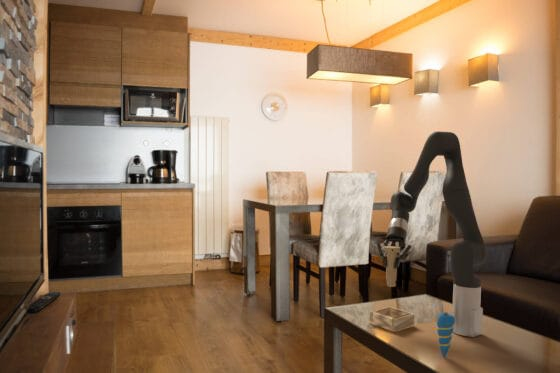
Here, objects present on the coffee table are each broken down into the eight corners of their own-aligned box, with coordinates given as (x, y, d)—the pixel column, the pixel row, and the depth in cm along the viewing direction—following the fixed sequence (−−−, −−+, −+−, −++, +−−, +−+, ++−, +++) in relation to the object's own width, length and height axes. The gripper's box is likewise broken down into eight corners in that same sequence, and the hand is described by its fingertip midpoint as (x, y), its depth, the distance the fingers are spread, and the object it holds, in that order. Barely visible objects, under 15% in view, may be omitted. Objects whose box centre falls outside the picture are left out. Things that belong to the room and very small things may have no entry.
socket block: (414, 326, 172) (414, 313, 172) (395, 332, 165) (395, 319, 165) (388, 318, 181) (389, 306, 181) (369, 323, 174) (370, 311, 174)
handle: (381, 284, 179) (382, 246, 179) (398, 285, 179) (399, 246, 178) (383, 287, 174) (383, 247, 174) (400, 287, 174) (401, 248, 174)
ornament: (449, 354, 145) (451, 306, 145) (456, 360, 140) (458, 311, 140) (433, 353, 145) (434, 306, 145) (439, 360, 140) (441, 311, 140)
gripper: (378, 224, 186) (369, 259, 175) (414, 226, 180) (407, 262, 169) (381, 236, 191) (373, 270, 180) (416, 238, 185) (410, 274, 174)
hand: (390, 266), depth 175 cm, fingers closed on handle, 3 cm apart
